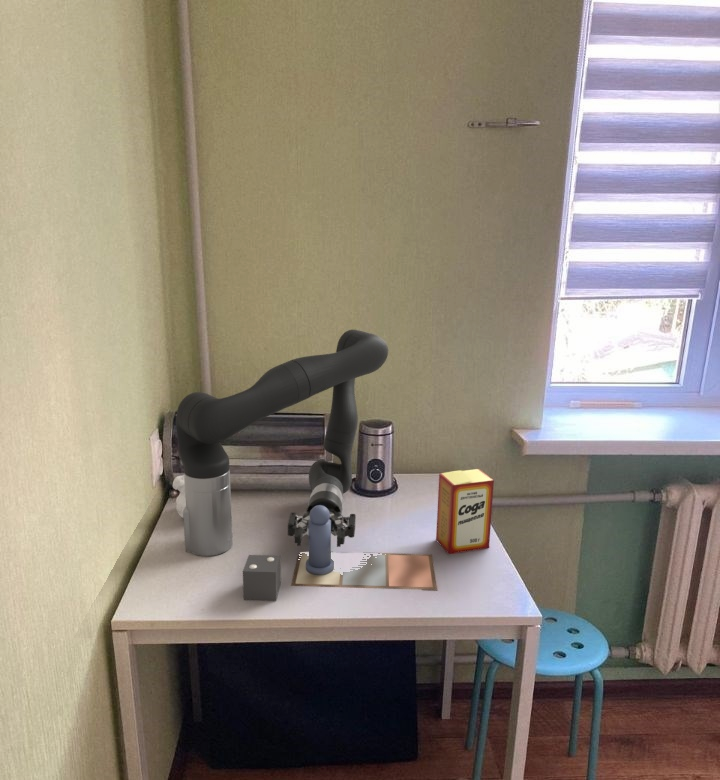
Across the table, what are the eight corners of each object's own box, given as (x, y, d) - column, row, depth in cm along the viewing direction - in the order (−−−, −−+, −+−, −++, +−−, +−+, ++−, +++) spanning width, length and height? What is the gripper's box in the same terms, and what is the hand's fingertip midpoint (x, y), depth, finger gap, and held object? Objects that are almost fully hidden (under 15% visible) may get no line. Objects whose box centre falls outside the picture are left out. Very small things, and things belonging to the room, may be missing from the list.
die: (243, 600, 122) (242, 570, 121) (249, 582, 128) (248, 554, 127) (276, 601, 122) (275, 571, 121) (280, 583, 128) (280, 555, 126)
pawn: (304, 574, 131) (303, 512, 127) (307, 560, 136) (306, 499, 133) (332, 575, 131) (333, 512, 127) (334, 561, 136) (334, 500, 133)
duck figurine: (193, 513, 162) (161, 481, 158) (217, 494, 162) (186, 461, 158) (189, 536, 150) (155, 502, 147) (215, 516, 150) (181, 481, 147)
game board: (290, 588, 127) (290, 585, 127) (298, 553, 140) (298, 550, 140) (437, 592, 127) (437, 589, 127) (431, 556, 140) (431, 554, 140)
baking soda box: (474, 534, 149) (479, 467, 145) (489, 547, 143) (494, 478, 139) (436, 539, 146) (439, 471, 142) (448, 554, 140) (452, 483, 136)
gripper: (292, 489, 145) (281, 523, 129) (358, 490, 144) (355, 525, 129) (292, 520, 147) (282, 558, 131) (357, 522, 146) (355, 560, 131)
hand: (318, 541), depth 130 cm, fingers open, 7 cm apart
